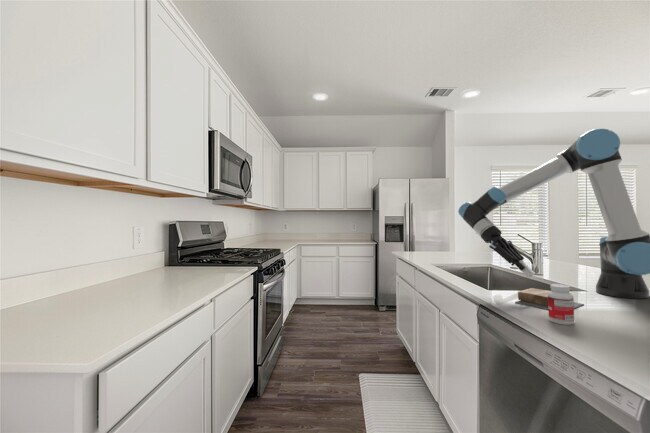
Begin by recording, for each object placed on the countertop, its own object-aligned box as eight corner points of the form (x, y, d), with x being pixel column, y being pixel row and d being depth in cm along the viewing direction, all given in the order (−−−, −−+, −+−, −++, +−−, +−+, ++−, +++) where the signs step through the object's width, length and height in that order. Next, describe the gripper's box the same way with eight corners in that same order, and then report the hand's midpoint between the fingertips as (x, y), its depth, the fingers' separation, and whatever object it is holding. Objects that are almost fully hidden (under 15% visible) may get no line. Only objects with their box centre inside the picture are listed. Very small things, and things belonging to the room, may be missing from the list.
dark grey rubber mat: (584, 305, 106) (584, 304, 106) (563, 313, 98) (563, 312, 98) (537, 296, 119) (537, 295, 119) (515, 303, 111) (515, 301, 111)
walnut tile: (531, 296, 118) (571, 303, 107) (518, 300, 113) (558, 308, 102) (531, 287, 118) (571, 294, 107) (517, 291, 113) (558, 299, 102)
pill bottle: (550, 317, 95) (549, 282, 95) (575, 321, 91) (574, 284, 91) (547, 322, 91) (545, 285, 91) (573, 326, 87) (571, 288, 87)
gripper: (490, 236, 134) (533, 279, 119) (472, 237, 127) (515, 283, 113) (502, 224, 129) (547, 267, 115) (484, 225, 123) (530, 271, 108)
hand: (531, 275), depth 114 cm, fingers closed
